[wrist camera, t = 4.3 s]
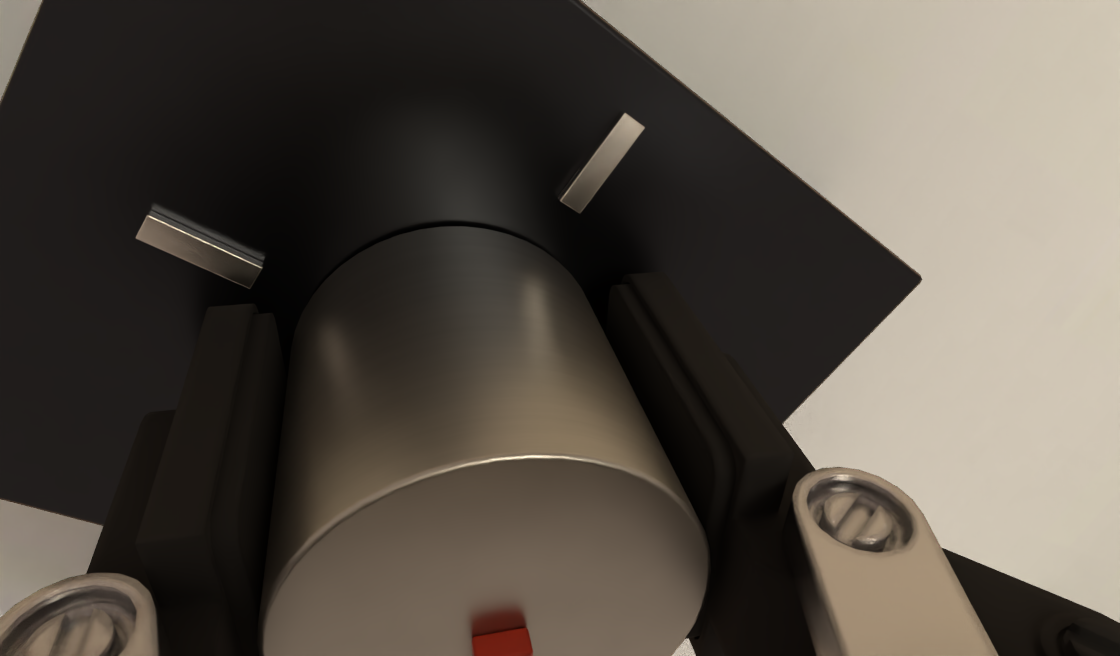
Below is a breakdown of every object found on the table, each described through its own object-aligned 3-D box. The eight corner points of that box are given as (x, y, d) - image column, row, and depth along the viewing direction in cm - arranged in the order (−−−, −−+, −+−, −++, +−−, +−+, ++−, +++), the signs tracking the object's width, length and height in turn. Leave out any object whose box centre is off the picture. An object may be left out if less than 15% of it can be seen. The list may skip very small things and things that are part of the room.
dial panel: (-51, 337, 12) (-158, 471, 10) (224, -283, 9) (171, -331, 6) (536, 538, 18) (567, 655, 15) (830, 206, 15) (932, 284, 12)
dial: (263, 236, 9) (200, 526, 5) (605, 213, 10) (761, 447, 6) (315, 493, 12) (296, 822, 8) (588, 455, 13) (694, 734, 9)
